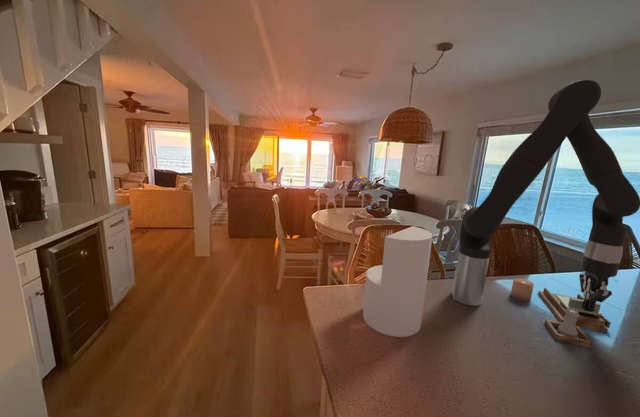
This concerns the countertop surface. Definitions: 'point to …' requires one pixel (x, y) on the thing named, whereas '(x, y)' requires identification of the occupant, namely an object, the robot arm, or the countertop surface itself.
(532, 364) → the countertop surface
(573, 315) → the rook chess piece
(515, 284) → the tan rounded block
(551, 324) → the wooden square frame
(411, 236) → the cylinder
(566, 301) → the cover
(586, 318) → the shallow wooden box
